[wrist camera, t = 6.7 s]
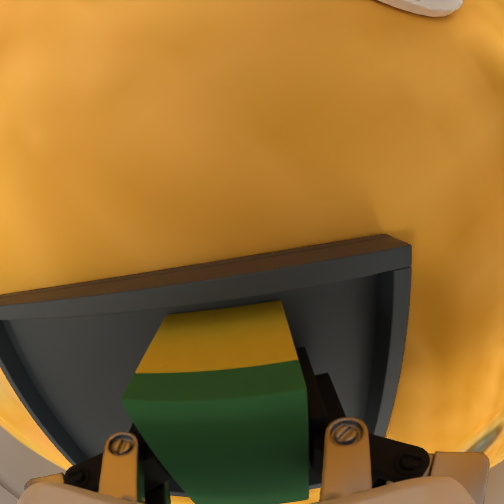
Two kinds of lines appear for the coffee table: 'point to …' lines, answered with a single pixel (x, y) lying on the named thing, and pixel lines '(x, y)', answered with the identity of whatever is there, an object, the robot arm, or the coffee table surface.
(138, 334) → the tray
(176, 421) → the sponge
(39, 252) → the coffee table surface
